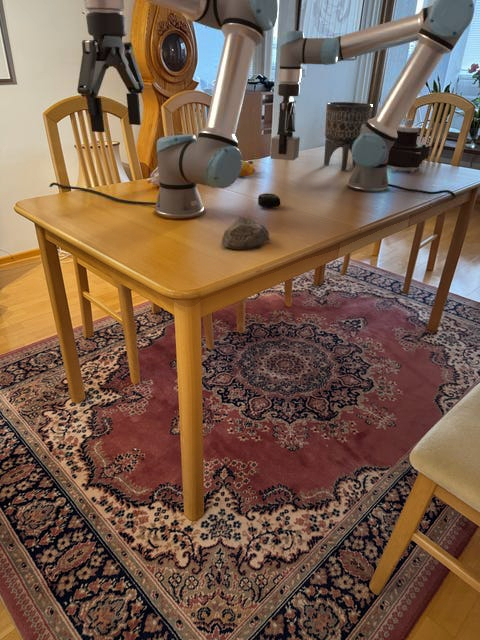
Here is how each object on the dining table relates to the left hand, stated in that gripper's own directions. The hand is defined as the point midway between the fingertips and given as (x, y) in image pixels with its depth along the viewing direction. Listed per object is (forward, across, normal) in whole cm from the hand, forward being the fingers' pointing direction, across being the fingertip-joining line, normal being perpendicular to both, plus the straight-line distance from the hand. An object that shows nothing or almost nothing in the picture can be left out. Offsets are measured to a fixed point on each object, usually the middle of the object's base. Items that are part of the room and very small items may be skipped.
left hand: (117, 128), depth 101 cm
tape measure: (+29, -52, +19) cm, 63 cm away
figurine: (+29, -62, -27) cm, 73 cm away
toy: (+29, -93, -7) cm, 98 cm away
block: (+18, -81, +15) cm, 85 cm away
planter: (+29, -130, +28) cm, 136 cm away
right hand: (+16, -81, +15) cm, 84 cm away
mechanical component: (+29, -141, +55) cm, 154 cm away
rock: (+29, -18, +25) cm, 42 cm away
